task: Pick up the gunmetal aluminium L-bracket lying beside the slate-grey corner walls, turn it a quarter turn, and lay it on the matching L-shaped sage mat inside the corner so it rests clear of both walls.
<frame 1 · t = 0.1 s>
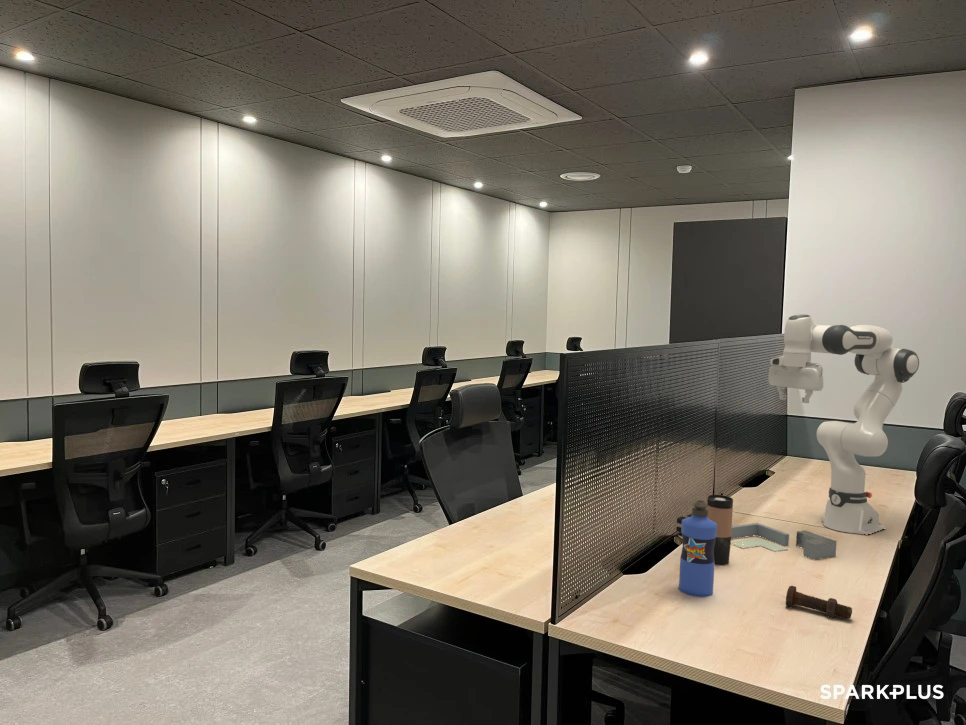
hand: (793, 401, 239), 48 cm above the table, tool pointing down, fingers open, 8 cm apart
travel mug: (716, 561, 214), on the table
bolt: (818, 614, 178), on the table
end cap: (692, 536, 240), on the table
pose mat: (751, 543, 233), on the table
bracket: (815, 551, 227), on the table
water bottle: (695, 590, 190), on the table
corner walls: (751, 543, 233), on the table
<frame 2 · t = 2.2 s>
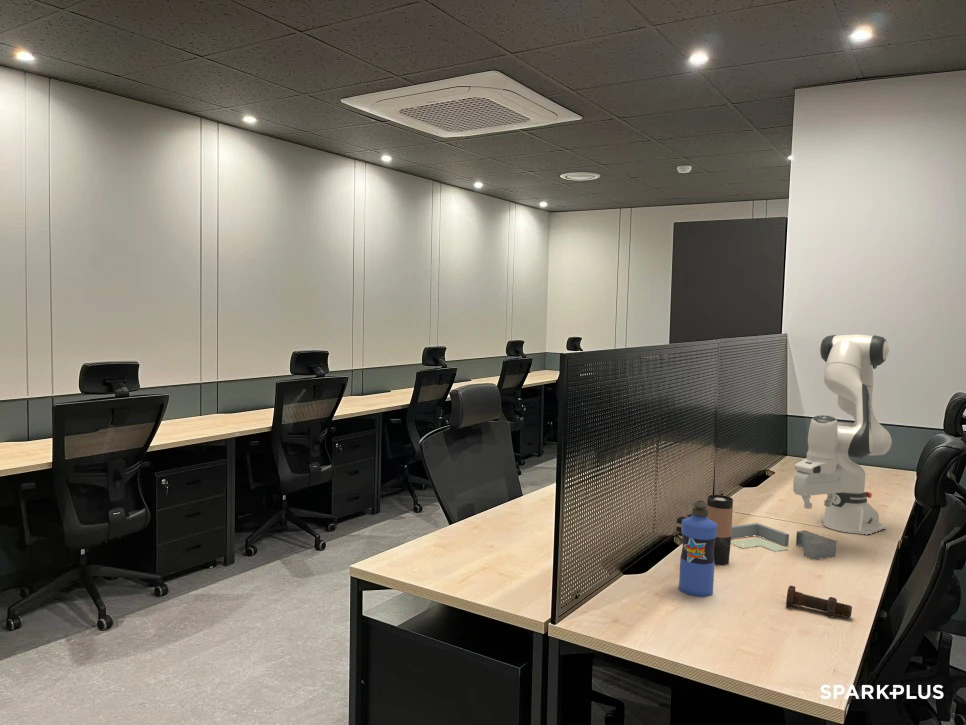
hand: (817, 507, 226), 15 cm above the table, tool pointing down, fingers open, 8 cm apart
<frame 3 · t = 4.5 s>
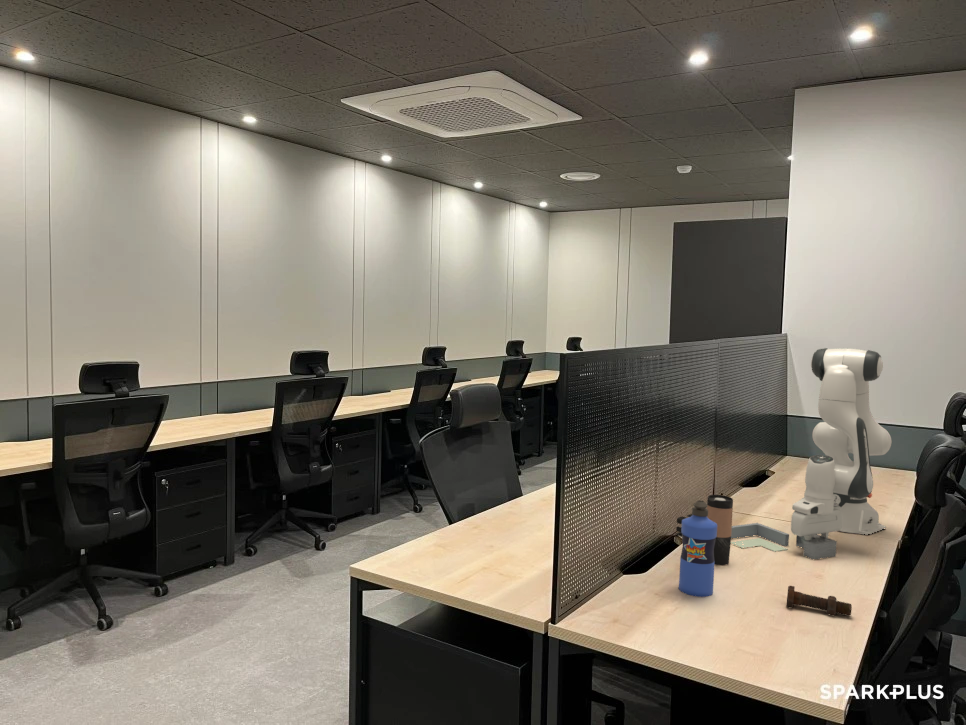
hand: (815, 546, 227), 2 cm above the table, tool pointing down, fingers closed on bracket, 4 cm apart
bracket: (815, 551, 227), on the table, touching gripper
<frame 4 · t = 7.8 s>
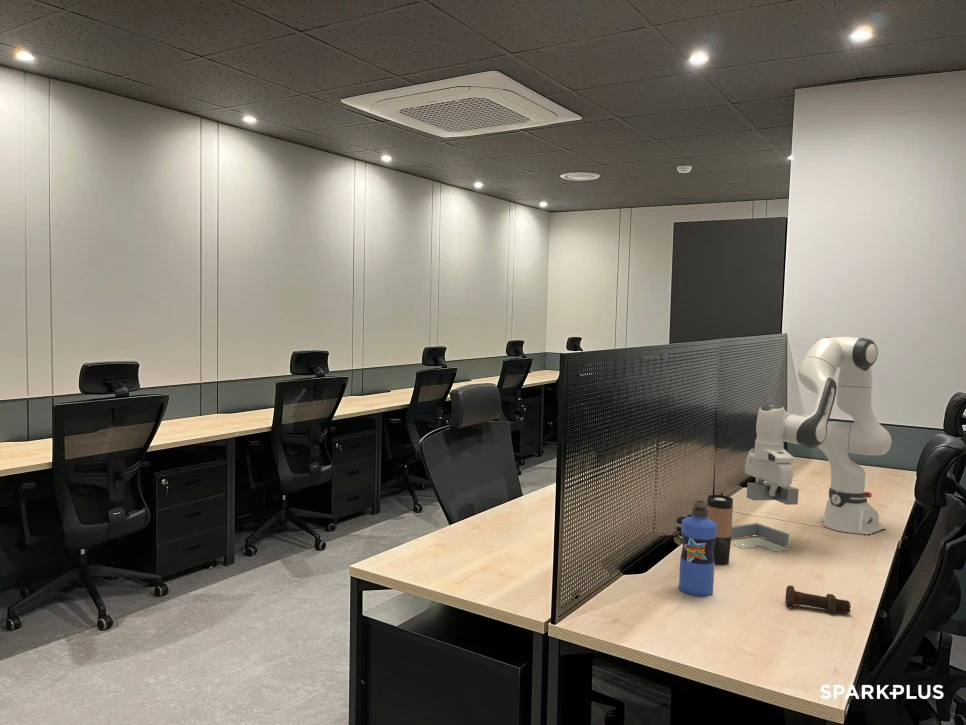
hand: (766, 493, 230), 18 cm above the table, tool pointing down, fingers closed on bracket, 4 cm apart
bracket: (765, 498, 230), point 16 cm above the table, touching gripper
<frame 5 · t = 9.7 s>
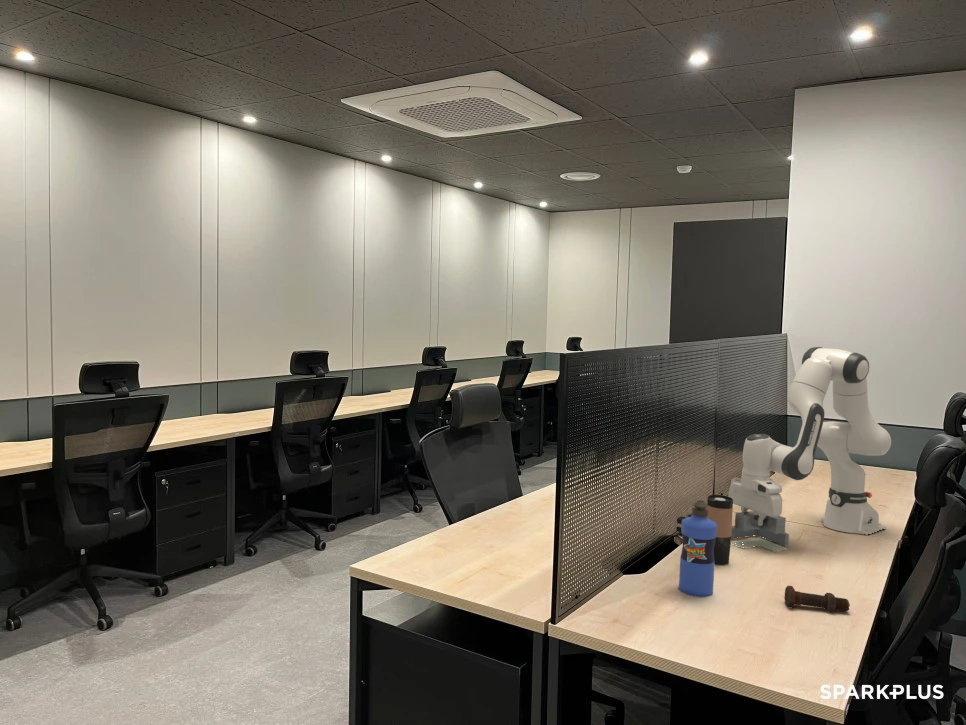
hand: (752, 522, 232), 7 cm above the table, tool pointing down, fingers closed on bracket, 4 cm apart
bracket: (752, 527, 232), point 6 cm above the table, touching gripper
when the fingers open (3 cm above the table, at t = 11.3 s): bracket drops 1 cm, resting on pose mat.
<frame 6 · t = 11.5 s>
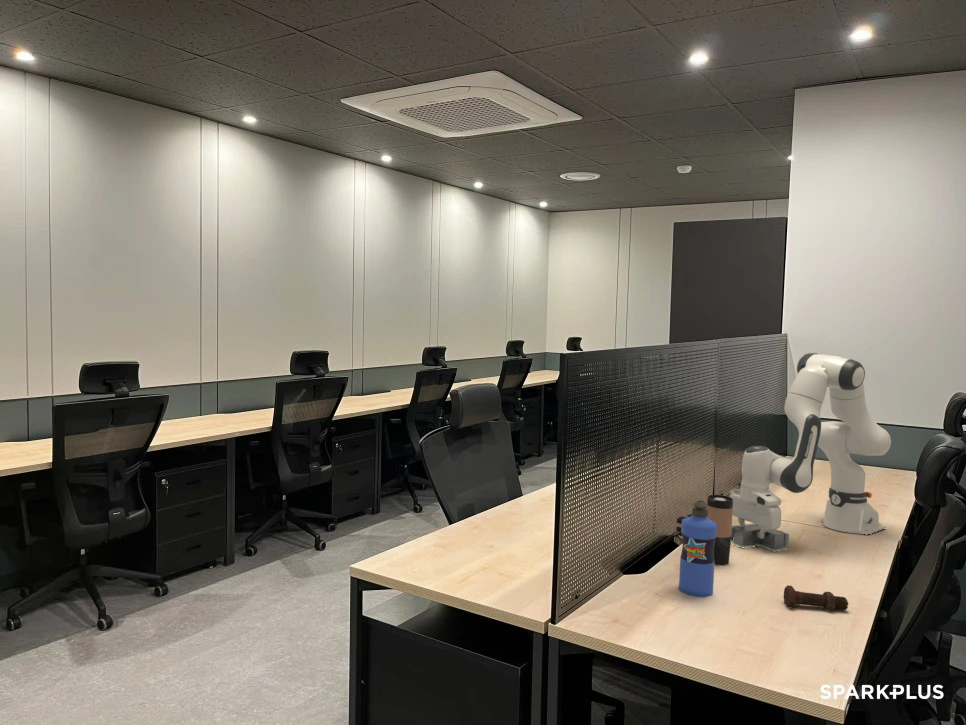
hand: (751, 534, 232), 3 cm above the table, tool pointing down, fingers open, 6 cm apart
bracket: (751, 542, 233), resting on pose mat
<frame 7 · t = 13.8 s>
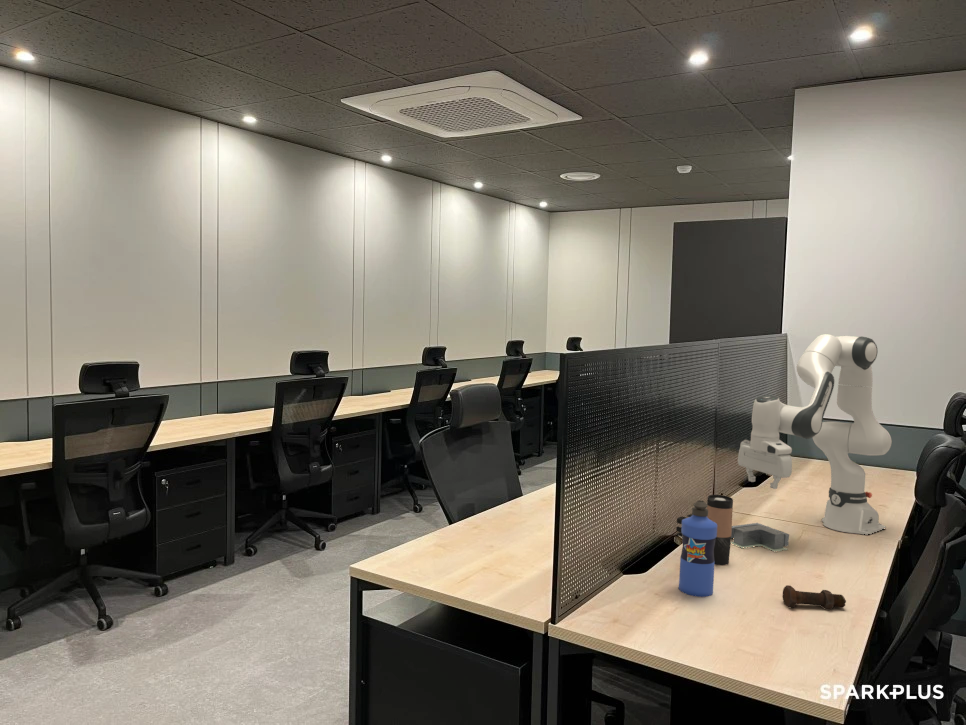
hand: (762, 484, 231), 20 cm above the table, tool pointing down, fingers open, 8 cm apart
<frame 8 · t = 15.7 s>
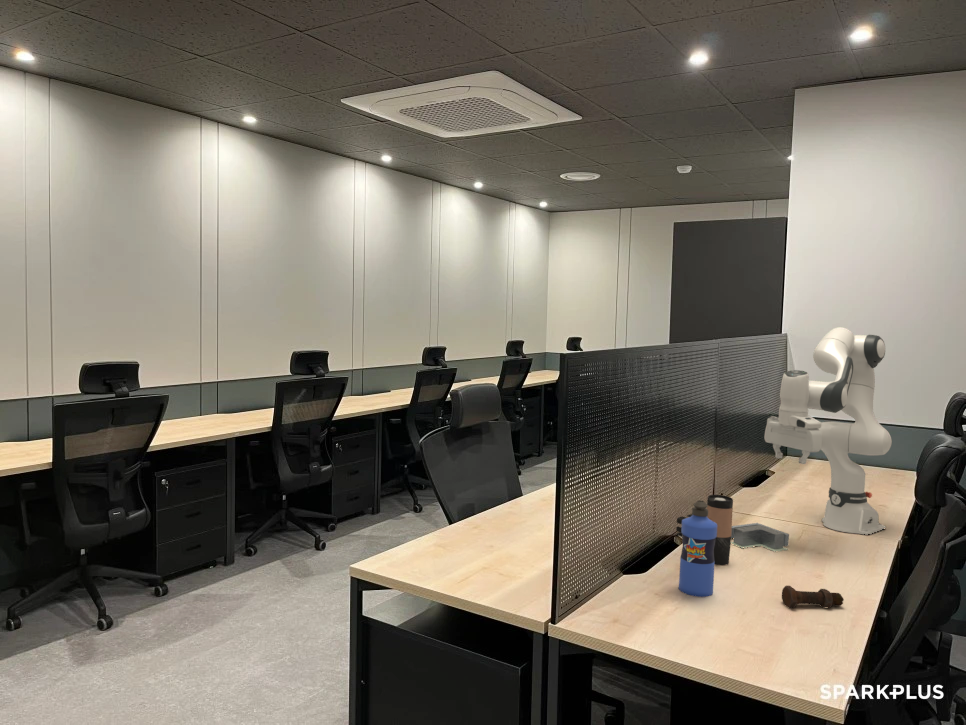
hand: (790, 460, 229), 29 cm above the table, tool pointing down, fingers open, 8 cm apart
at the end: bracket 0.1 cm from the target spot, resting on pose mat; bracket touching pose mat; bracket tilted 0° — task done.
